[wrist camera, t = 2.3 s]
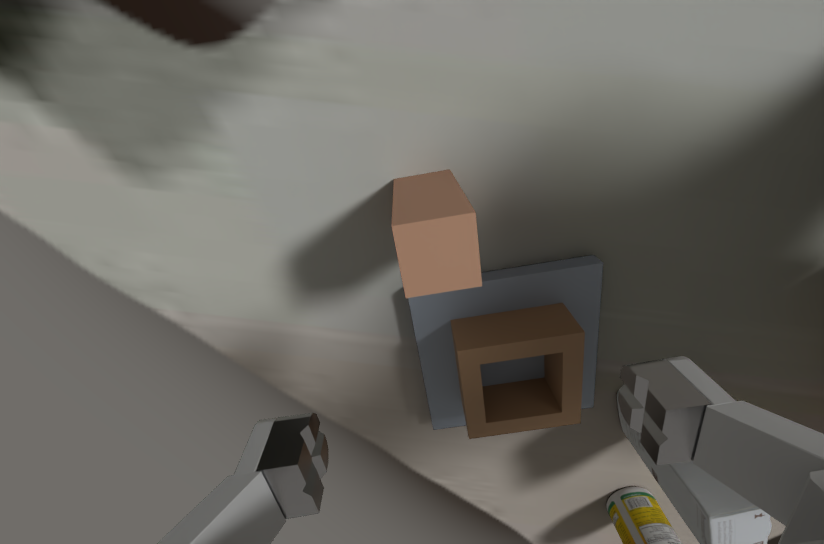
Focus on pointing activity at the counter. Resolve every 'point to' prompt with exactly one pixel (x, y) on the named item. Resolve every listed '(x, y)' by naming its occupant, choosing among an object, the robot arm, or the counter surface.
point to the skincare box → (705, 500)
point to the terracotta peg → (435, 235)
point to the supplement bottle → (639, 518)
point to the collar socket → (512, 348)
